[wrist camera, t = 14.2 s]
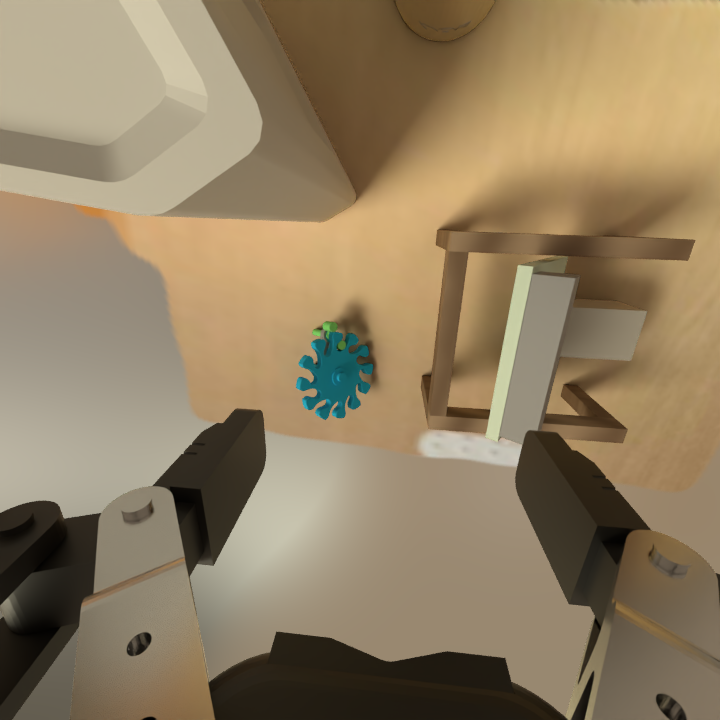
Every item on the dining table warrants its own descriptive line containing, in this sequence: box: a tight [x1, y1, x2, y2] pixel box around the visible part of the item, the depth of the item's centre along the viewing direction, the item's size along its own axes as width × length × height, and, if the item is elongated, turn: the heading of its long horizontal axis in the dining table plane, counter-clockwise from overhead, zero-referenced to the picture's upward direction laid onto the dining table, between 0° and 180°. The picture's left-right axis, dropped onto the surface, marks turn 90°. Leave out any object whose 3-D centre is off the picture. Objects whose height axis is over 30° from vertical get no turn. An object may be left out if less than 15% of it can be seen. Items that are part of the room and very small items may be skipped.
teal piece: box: [296, 321, 373, 420], centre depth 41 cm, size 11×6×10 cm
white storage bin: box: [0, 0, 357, 222], centre depth 22 cm, size 19×15×28 cm
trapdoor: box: [485, 256, 581, 445], centre depth 31 cm, size 14×14×4 cm
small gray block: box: [560, 299, 647, 361], centre depth 36 cm, size 5×5×7 cm
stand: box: [421, 230, 695, 443], centre depth 35 cm, size 18×18×10 cm
